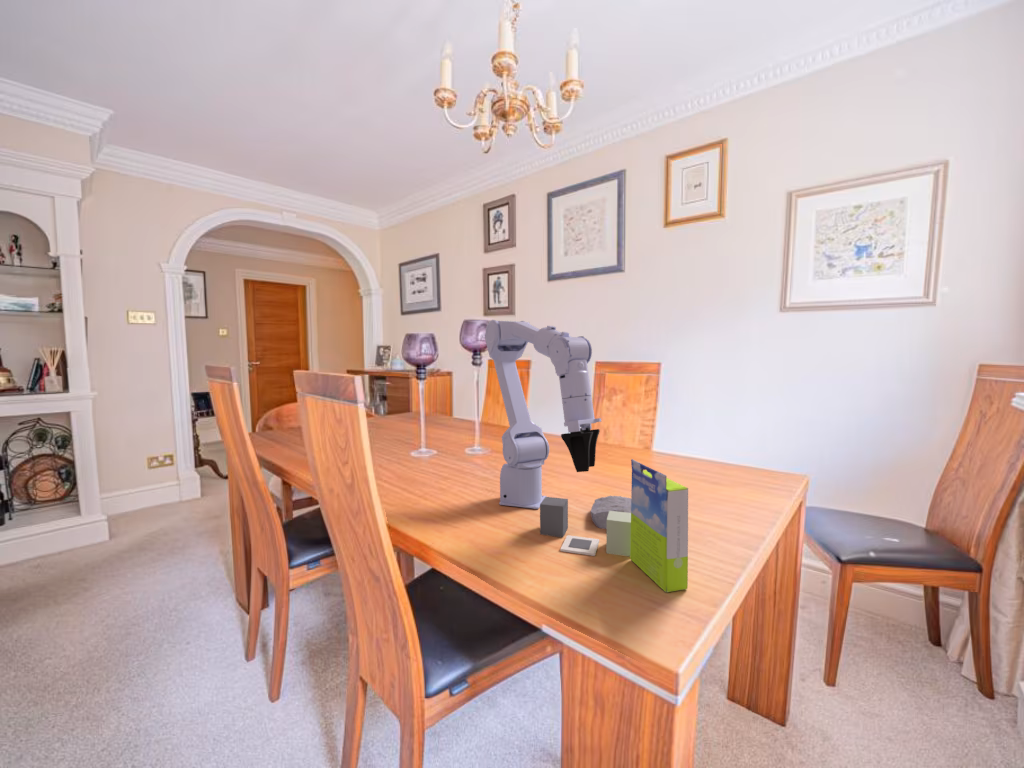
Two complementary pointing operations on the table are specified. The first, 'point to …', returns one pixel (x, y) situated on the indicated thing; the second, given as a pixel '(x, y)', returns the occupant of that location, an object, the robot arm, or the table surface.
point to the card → (580, 545)
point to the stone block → (608, 508)
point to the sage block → (618, 533)
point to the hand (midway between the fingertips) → (586, 469)
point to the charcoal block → (554, 516)
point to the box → (659, 527)
